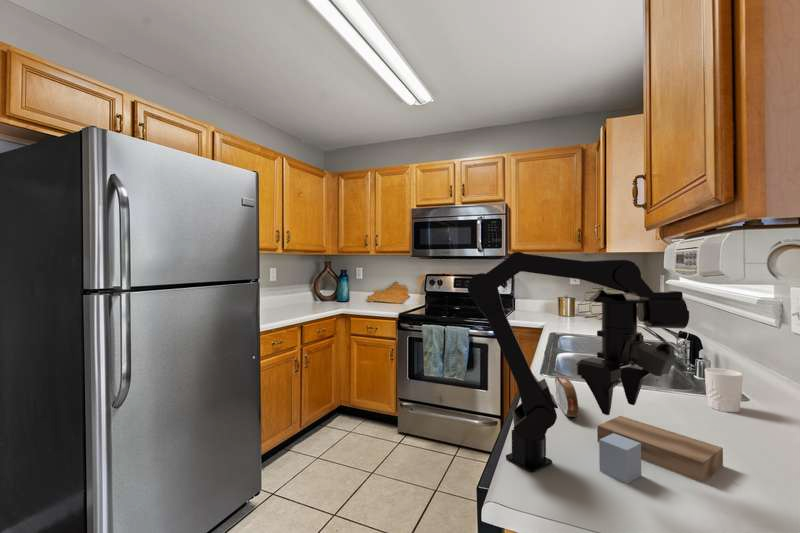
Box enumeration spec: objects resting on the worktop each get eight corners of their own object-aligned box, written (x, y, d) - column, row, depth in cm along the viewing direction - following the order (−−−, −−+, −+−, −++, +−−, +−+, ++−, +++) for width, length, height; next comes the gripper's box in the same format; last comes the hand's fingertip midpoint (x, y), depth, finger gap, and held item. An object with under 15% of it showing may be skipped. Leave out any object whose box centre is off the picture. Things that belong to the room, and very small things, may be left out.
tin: (579, 422, 92) (579, 388, 92) (566, 421, 93) (565, 388, 93) (565, 401, 107) (565, 372, 107) (553, 400, 108) (553, 371, 108)
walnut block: (703, 485, 66) (703, 462, 66) (597, 443, 82) (597, 425, 82) (722, 468, 72) (722, 447, 72) (620, 432, 88) (620, 415, 88)
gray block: (627, 484, 66) (626, 450, 66) (599, 471, 70) (599, 439, 70) (641, 475, 69) (641, 443, 69) (613, 463, 73) (613, 433, 73)
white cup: (750, 414, 97) (750, 376, 97) (717, 412, 98) (716, 375, 98) (729, 403, 105) (729, 368, 105) (698, 402, 106) (698, 367, 106)
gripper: (641, 338, 58) (641, 438, 58) (691, 328, 68) (691, 413, 68) (574, 328, 67) (574, 414, 67) (627, 320, 78) (627, 395, 77)
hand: (619, 409), depth 70 cm, fingers open, 9 cm apart
